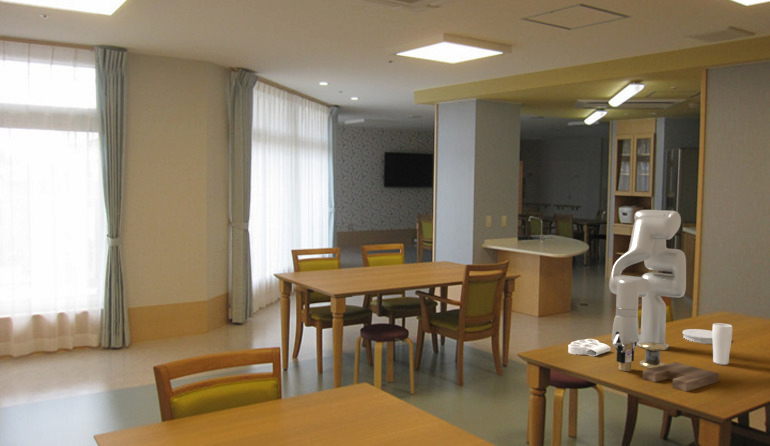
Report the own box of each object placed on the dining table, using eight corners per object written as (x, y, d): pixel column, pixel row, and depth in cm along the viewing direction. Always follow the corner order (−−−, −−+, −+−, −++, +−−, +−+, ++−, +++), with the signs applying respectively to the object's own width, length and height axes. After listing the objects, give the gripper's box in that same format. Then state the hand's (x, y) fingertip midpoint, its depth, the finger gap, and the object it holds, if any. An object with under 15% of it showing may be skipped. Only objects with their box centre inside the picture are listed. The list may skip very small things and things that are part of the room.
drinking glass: (733, 366, 234) (735, 327, 233) (714, 365, 235) (715, 326, 234) (727, 361, 241) (729, 323, 240) (708, 360, 242) (710, 322, 241)
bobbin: (634, 364, 235) (635, 343, 235) (648, 360, 240) (649, 340, 239) (656, 370, 227) (657, 349, 227) (670, 366, 232) (671, 345, 232)
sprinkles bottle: (624, 372, 225) (626, 335, 224) (615, 368, 229) (616, 333, 228) (634, 370, 227) (635, 334, 226) (624, 367, 231) (626, 332, 230)
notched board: (642, 378, 217) (642, 370, 217) (675, 370, 228) (675, 362, 228) (685, 391, 204) (686, 382, 204) (718, 381, 215) (718, 373, 215)
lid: (739, 345, 267) (740, 338, 267) (693, 344, 268) (693, 337, 267) (718, 335, 284) (719, 329, 284) (675, 335, 285) (675, 328, 285)
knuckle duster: (592, 359, 243) (559, 351, 253) (614, 351, 255) (582, 344, 265) (592, 351, 242) (559, 343, 253) (614, 343, 255) (582, 337, 265)
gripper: (631, 308, 234) (630, 355, 235) (603, 313, 225) (601, 362, 226) (649, 312, 228) (648, 360, 229) (621, 316, 219) (619, 367, 220)
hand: (625, 360), depth 227 cm, fingers closed on sprinkles bottle, 4 cm apart
